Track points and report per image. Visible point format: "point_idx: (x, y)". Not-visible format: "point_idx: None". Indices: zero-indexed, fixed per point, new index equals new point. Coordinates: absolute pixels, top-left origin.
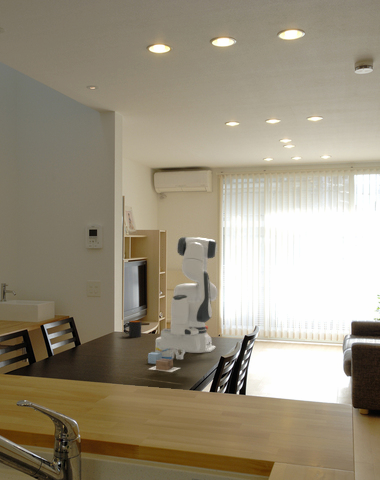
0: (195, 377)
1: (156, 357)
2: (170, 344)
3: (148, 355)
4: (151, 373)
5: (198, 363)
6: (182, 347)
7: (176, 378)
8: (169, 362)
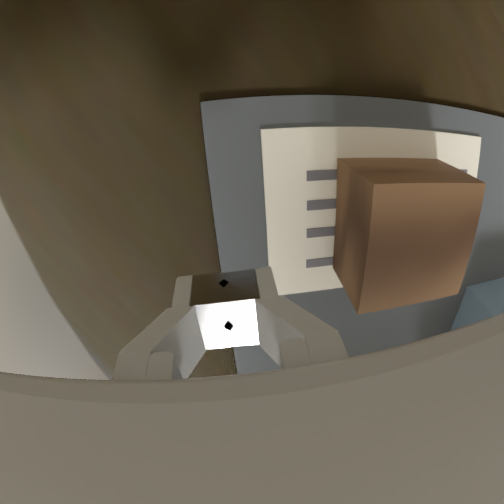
0: (7, 143)
1: (492, 314)
2: (474, 408)
3: None
4: (410, 38)
5: None
6: (84, 421)
7: (101, 3)
8: (361, 237)
